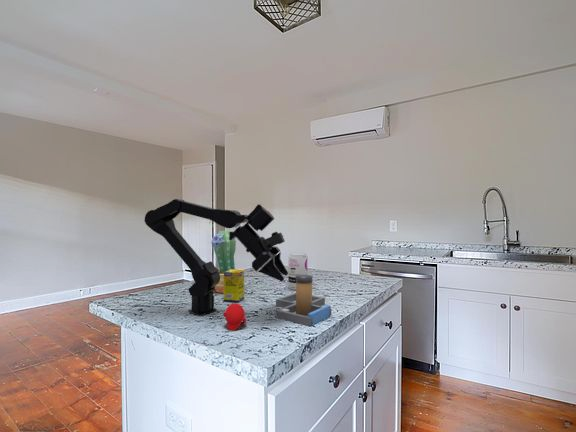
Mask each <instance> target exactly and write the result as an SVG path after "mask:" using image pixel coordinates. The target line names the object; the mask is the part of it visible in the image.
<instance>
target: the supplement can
mask: <svg viewBox="0 0 576 432" xmlns="http://www.w3.org/2000/svg"><path fill="white" fill-rule="evenodd" d="M287 260H288V262H287V263H288V265H287V266H288V268H287V272H288V274H287V277H288V278H287V279H288V280H287V281H288V284H287V285H288V286H287V287H288V288H289V289H290V291H292V290H293V291H296V275H308V256H307V253H305V252H292V253H291V252H290V253H289V255H288V259H287Z"/></svg>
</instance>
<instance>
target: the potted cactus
mask: <svg viewBox="0 0 576 432" xmlns="http://www.w3.org/2000/svg"><path fill="white" fill-rule="evenodd" d="M229 232H231V231H230V230H219V231H218V233H216V234H215V235H214V236H213V237H212V238H211V249H213V252H214V253H215V255H216V258H217V264H218V269H219V271H218V272H219V274H220V281H219V283H218V284H217V285H216V286H215V288H214V289H215V292H216V293H221V294H224V272H226V271H228V270H230V269H233V270H243V269H242V268H235V267H236V265H235V254H236V253H235V252H236V245H237V244H236V243H237V240H236V238H235V239H234V240H229V236H230V233H229Z"/></svg>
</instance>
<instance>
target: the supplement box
mask: <svg viewBox="0 0 576 432" xmlns="http://www.w3.org/2000/svg"><path fill="white" fill-rule="evenodd" d="M244 299H245V270H244V269H242V270H233V269H230V270H228V271H226V272H224V293H223V303H224V302H225V303H226V302H227V303H237V304H239V303H240V302H242V300H244Z"/></svg>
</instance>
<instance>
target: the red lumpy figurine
mask: <svg viewBox="0 0 576 432" xmlns="http://www.w3.org/2000/svg"><path fill="white" fill-rule="evenodd" d="M223 317H224V318H225V321H226V326H227V329H228V330H229V331H231V332H232V331H233V332H235V331H236V330H237V329H238V328H239V327H240V325H242V326H244V325H246V323H247V316H246V313H245V309H244V308H243V306H242V305H241V304H239V303H237V302H233V303H231V304H230V305H228V306H227V308H226V310H225V311H224V313H223Z"/></svg>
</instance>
